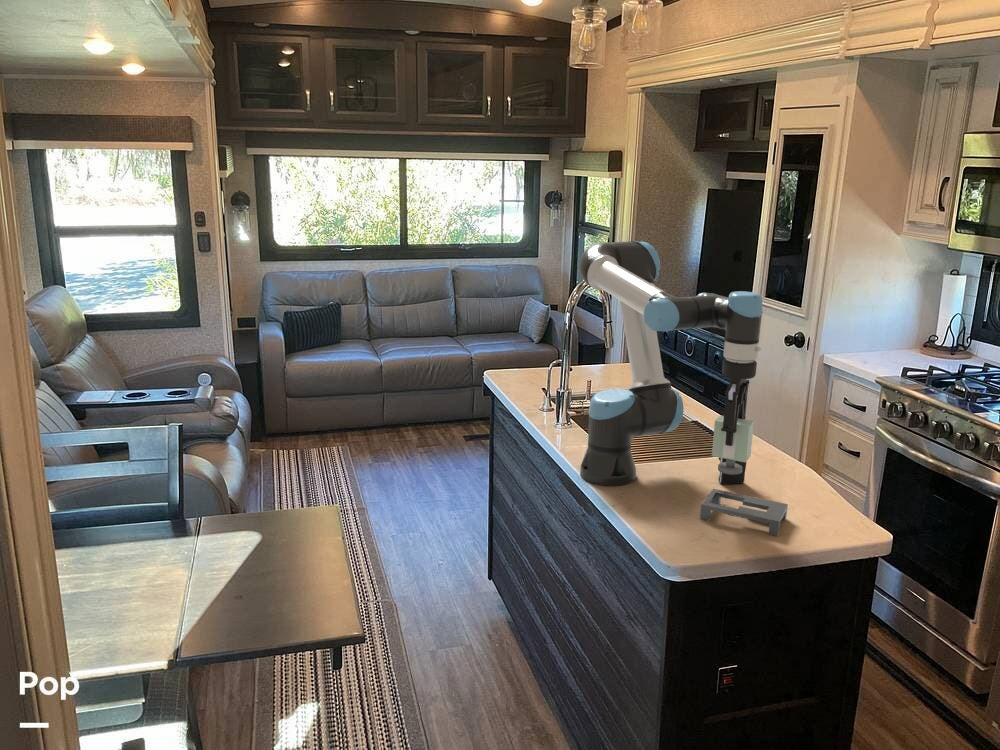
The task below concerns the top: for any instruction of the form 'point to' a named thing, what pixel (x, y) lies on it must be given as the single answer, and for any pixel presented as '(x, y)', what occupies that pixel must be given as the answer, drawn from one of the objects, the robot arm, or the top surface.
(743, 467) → the battery charger
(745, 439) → the pale green boxy piece
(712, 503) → the keyhole plate
